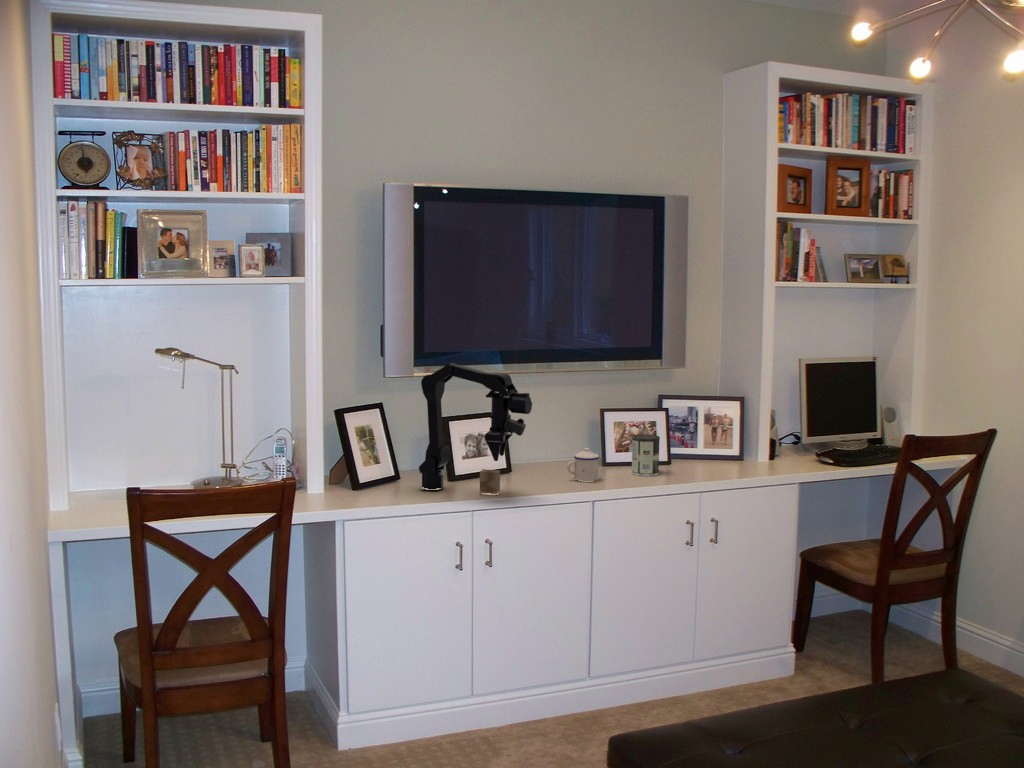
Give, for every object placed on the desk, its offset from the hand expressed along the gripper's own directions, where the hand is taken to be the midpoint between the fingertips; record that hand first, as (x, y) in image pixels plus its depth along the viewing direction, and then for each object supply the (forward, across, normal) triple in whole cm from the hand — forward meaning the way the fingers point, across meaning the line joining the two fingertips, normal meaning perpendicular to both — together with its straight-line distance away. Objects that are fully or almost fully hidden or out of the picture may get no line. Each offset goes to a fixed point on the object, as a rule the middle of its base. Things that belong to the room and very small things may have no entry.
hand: (499, 458), depth 307 cm
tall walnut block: (+13, +3, +4) cm, 14 cm away
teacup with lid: (+13, +32, -24) cm, 42 cm away
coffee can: (+13, +50, -46) cm, 69 cm away
